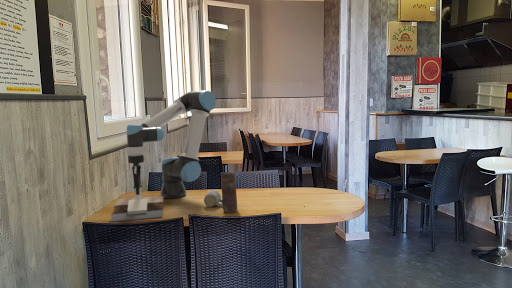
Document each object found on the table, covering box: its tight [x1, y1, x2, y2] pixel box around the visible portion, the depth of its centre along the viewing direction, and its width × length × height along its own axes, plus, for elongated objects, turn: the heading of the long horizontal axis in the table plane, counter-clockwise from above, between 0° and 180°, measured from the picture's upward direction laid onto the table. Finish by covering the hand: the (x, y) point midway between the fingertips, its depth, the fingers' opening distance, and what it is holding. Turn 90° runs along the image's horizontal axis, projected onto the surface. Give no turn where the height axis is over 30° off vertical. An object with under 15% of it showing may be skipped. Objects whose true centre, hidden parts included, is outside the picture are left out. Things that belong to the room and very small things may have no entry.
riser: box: [113, 195, 165, 214], centre depth 192 cm, size 24×14×4 cm, turn 102°
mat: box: [108, 208, 164, 223], centre depth 178 cm, size 24×14×1 cm, turn 102°
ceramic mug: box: [203, 189, 223, 208], centre depth 193 cm, size 11×8×8 cm
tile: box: [128, 199, 148, 215], centre depth 182 cm, size 9×8×2 cm
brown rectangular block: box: [220, 171, 238, 214], centre depth 181 cm, size 8×7×20 cm
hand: (138, 200), depth 186 cm, fingers closed
